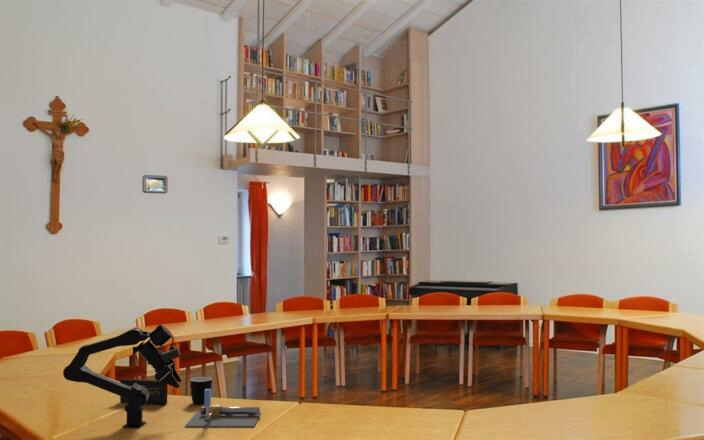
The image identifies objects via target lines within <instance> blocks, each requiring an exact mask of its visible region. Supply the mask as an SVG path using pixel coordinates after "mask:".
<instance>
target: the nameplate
mask: <svg viewBox="0 0 704 440" xmlns="http://www.w3.org/2000/svg"><path fill="white" fill-rule="evenodd" d="M159 381H160V380H159ZM159 381H157V380H156V379H140V378H139V379H137V378H123V379H121V380H120V381H119V382H120V383H122V384H125V385H127V386H133V384H134V383H137V384H139V385H141V386H145V388H146V389H147V390H148V391H149V399H148V400H147V401H146V403H145V404H144V405H152V406H153V405H154V406H165V405H167V404H168V384H165V383H162V382H159ZM119 400H120V403H121V404H127V403H128V402H127V401H126V400H125V399H124V398H123V397H121V396H119Z"/></svg>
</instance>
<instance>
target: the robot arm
mask: <svg viewBox="0 0 704 440" xmlns="http://www.w3.org/2000/svg"><path fill="white" fill-rule="evenodd" d="M173 337H174V335H173V333H172V332H171V331H170V330H169V329H168V328H166V326H164V325H162V324H161V323H159V325H157V326H156V327H155V329H154V330H152V332H151V331H145V330H143V329H141V328H140V327H133V328H131V329H129V330H127V331H125V332H122V333H121V334H119V335H115V336H113V337H109V338H106V339H103V340H100V341H96V342H93V343H89V344H84V345H82V346H80V347H79V349H78V351H77V353H76V354H75V356H74V358H72V360H71V361H70V363H69V364H68V365H67V366H65V367H64V368H63V372H62V376H63V378H64V379H65V380H67V381H70V382H75V383H85V384H89V385H91V386H94V387H96V388H99V389H101V390H104V391H106V392H109V393H112V394H114V395H116V396H119V397H120V396H121V397H123V398H124V399H125V400H126V401H127V402H128V403H125V406H124V407H123V408H124V410H125V413H126V423H125V424H124V425H122V428H130V429H131V428H133V429H134V428H135V429H139V428H141V427H142V426H144V425H146V424H147V421H143V416H144V415H143V409H144V408H143V406H144V405H146V404H145V403H146V401H147V400H148V399H149V391H148V390H147V389H146V388H145V386H141V385H139V384H137V383H134V384H133V386H127V385H125V384H122V383H120V381H117V380H114V379H112V378H110V377H107V376H104V375H102V374H99V373H97V372H94V371H93V370H92V369H90V368H89V367H88V366H87V365H86V363H87V362H88V360H89V357H90V356H91V355H93V354H97V353H100V352H103V351H107V350H109V349H110V350H111V349H113V348H117V347H129V346H132V355H133V356H134V355H136V354H137V353H138V354H139V355H141V357H142V358H143V359H144V360H145V361H146V362H147V363H146V364H147V365H148V366H151V368H153V369H154V372H155V373H154V380H157V381H159V380H160V381H159V382H162V383H165V384H167V386H168V385H169V386H171V387H173V388H176V389H179V388H180V384H179V383H181V382H182V378H181V377H180V375H179V373H178V371H177V369H176V359H177V358H180V356H181V352H180V349H179V347H178V346H175V345H171V346H169V348H168V350H167V351H165V352H163V350H159V349H158V347H163V346H164V345H165V344H166V343H167V342H168V341H170V340H171V339H172V338H173ZM146 340H147V341H146ZM136 345H137V346H136Z"/></svg>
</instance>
